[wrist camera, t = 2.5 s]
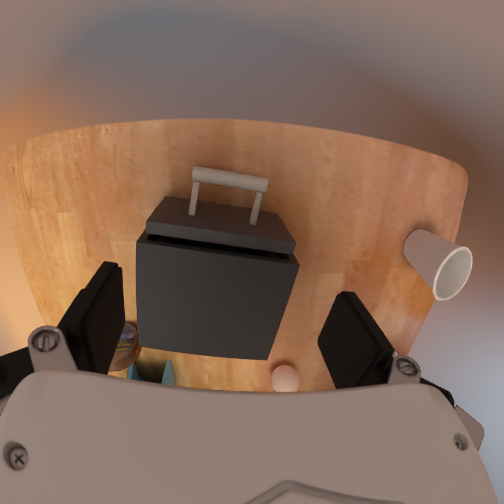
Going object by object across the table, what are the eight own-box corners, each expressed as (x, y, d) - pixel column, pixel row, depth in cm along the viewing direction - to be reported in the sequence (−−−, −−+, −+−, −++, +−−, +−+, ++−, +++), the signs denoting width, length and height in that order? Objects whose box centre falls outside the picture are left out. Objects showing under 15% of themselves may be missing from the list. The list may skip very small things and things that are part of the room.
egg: (292, 355, 45) (301, 384, 39) (296, 370, 47) (304, 398, 41) (265, 363, 45) (271, 392, 39) (271, 377, 47) (277, 406, 41)
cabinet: (160, 207, 31) (136, 241, 22) (277, 225, 34) (299, 265, 24) (155, 293, 36) (138, 346, 27) (256, 306, 39) (267, 360, 29)
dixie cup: (413, 212, 35) (457, 238, 26) (440, 232, 37) (479, 259, 28) (388, 259, 38) (424, 293, 29) (417, 274, 40) (451, 306, 31)
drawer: (170, 156, 28) (151, 166, 20) (286, 176, 30) (310, 193, 22) (158, 280, 34) (144, 323, 27) (256, 293, 37) (266, 337, 29)
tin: (141, 319, 38) (129, 359, 30) (148, 334, 39) (138, 374, 32) (68, 325, 37) (50, 359, 30) (76, 338, 39) (60, 372, 31)
